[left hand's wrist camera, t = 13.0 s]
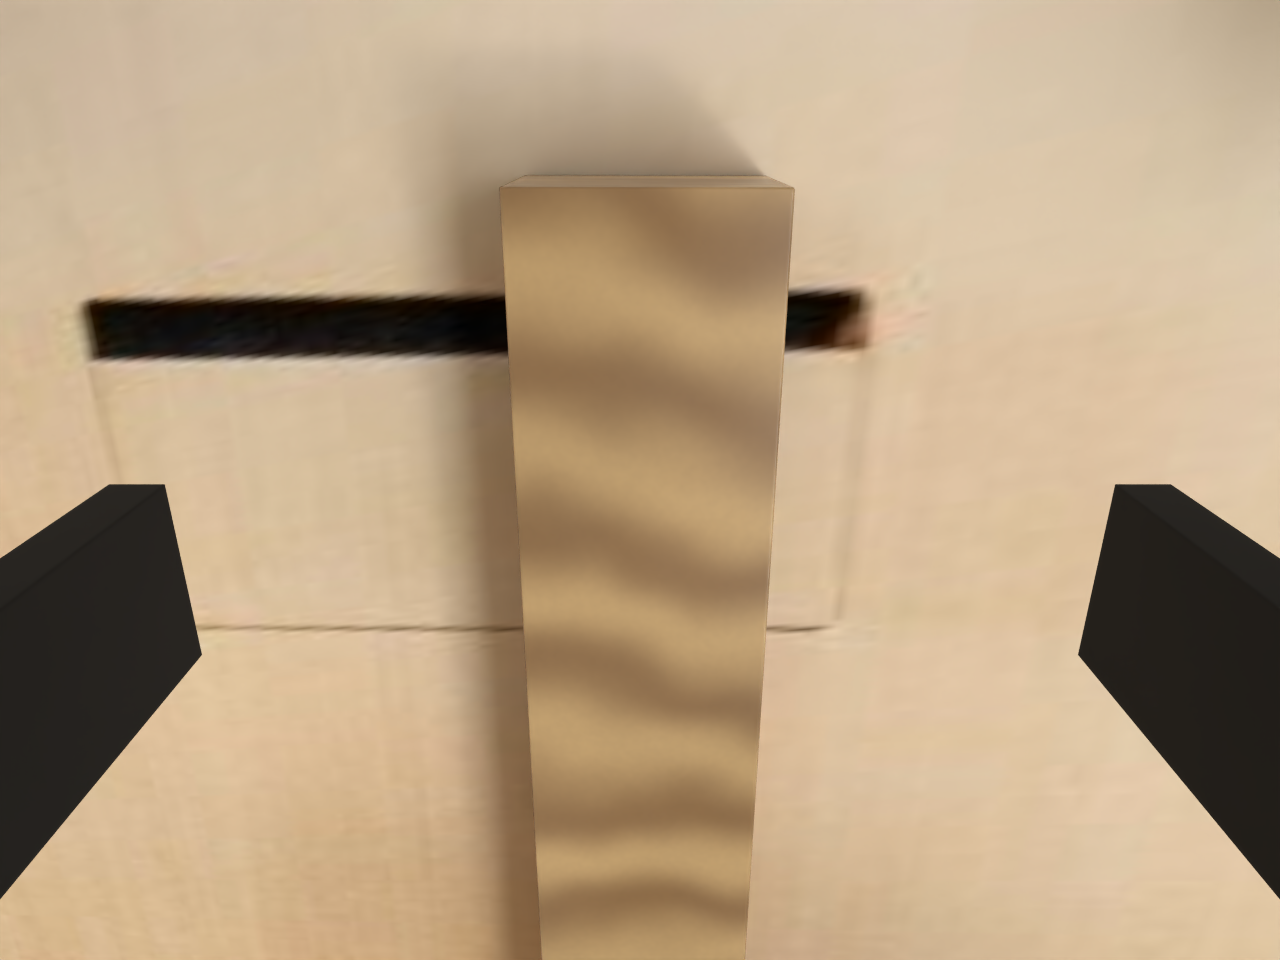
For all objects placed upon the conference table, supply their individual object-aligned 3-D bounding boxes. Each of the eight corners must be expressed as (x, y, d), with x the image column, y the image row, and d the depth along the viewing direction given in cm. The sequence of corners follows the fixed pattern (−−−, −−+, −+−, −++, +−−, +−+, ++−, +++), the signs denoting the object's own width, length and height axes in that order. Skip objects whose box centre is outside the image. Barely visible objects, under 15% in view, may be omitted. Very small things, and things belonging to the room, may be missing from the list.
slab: (524, 175, 34) (498, 186, 28) (767, 175, 34) (795, 187, 28) (573, 1287, 61) (566, 1415, 55) (707, 1287, 61) (715, 1415, 55)
